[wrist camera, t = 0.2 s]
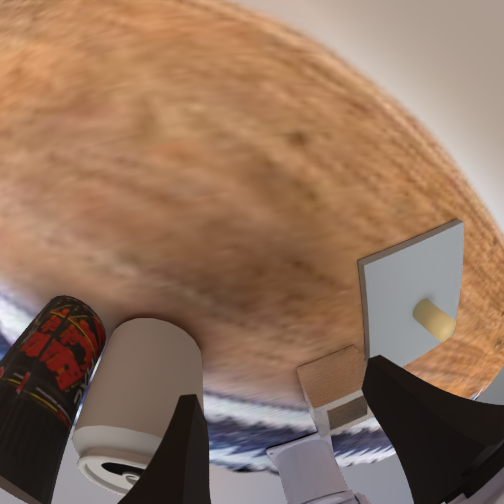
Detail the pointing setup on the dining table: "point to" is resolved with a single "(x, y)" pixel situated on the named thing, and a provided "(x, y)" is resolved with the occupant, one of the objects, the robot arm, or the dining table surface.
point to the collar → (335, 391)
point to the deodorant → (45, 395)
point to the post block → (412, 294)
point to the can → (134, 400)
